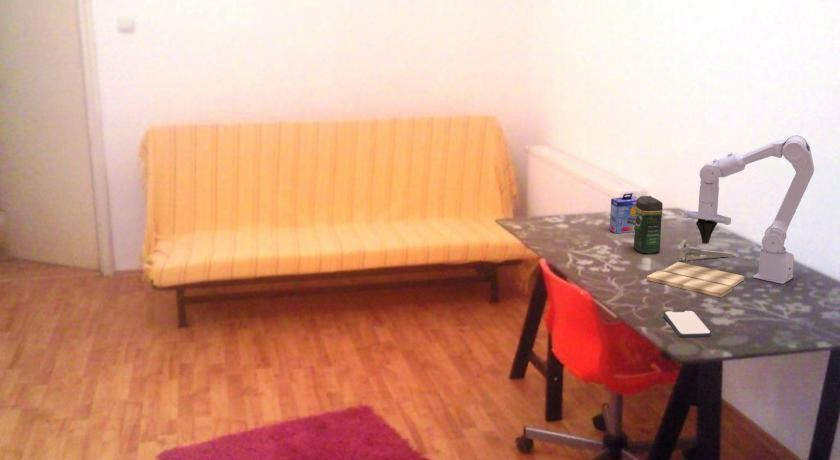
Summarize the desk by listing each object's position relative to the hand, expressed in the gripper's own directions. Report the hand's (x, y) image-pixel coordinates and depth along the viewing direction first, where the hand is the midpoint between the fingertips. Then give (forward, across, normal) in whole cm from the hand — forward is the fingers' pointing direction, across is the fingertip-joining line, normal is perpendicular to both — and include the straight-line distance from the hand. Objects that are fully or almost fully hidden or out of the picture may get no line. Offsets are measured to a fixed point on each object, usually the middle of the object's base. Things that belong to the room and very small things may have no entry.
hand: (705, 242), depth 281 cm
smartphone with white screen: (+10, -17, +47) cm, 51 cm away
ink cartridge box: (+9, +42, -23) cm, 48 cm away
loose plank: (+9, -3, +7) cm, 12 cm away
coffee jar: (+9, +24, -7) cm, 26 cm away
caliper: (+9, +4, -11) cm, 15 cm away
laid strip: (+9, -3, +17) cm, 19 cm away
